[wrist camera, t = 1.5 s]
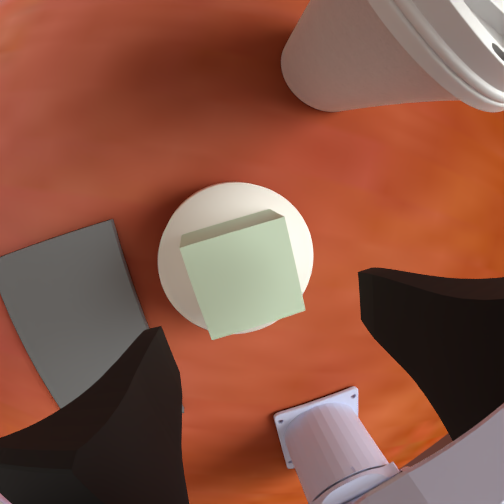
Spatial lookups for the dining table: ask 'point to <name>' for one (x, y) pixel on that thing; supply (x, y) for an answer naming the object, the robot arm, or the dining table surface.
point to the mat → (72, 306)
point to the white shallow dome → (214, 212)
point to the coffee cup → (397, 53)
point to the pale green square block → (243, 272)
